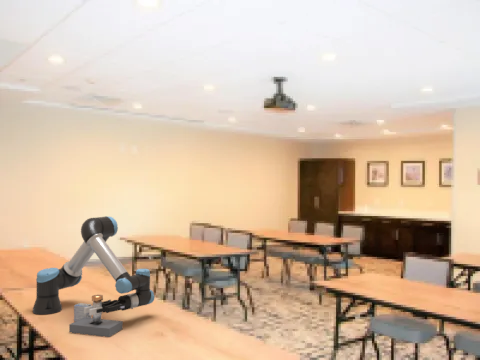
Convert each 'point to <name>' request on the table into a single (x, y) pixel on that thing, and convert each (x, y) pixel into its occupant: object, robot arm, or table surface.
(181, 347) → the table surface
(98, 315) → the plug
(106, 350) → the table surface
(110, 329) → the socket block
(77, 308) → the medicine box
